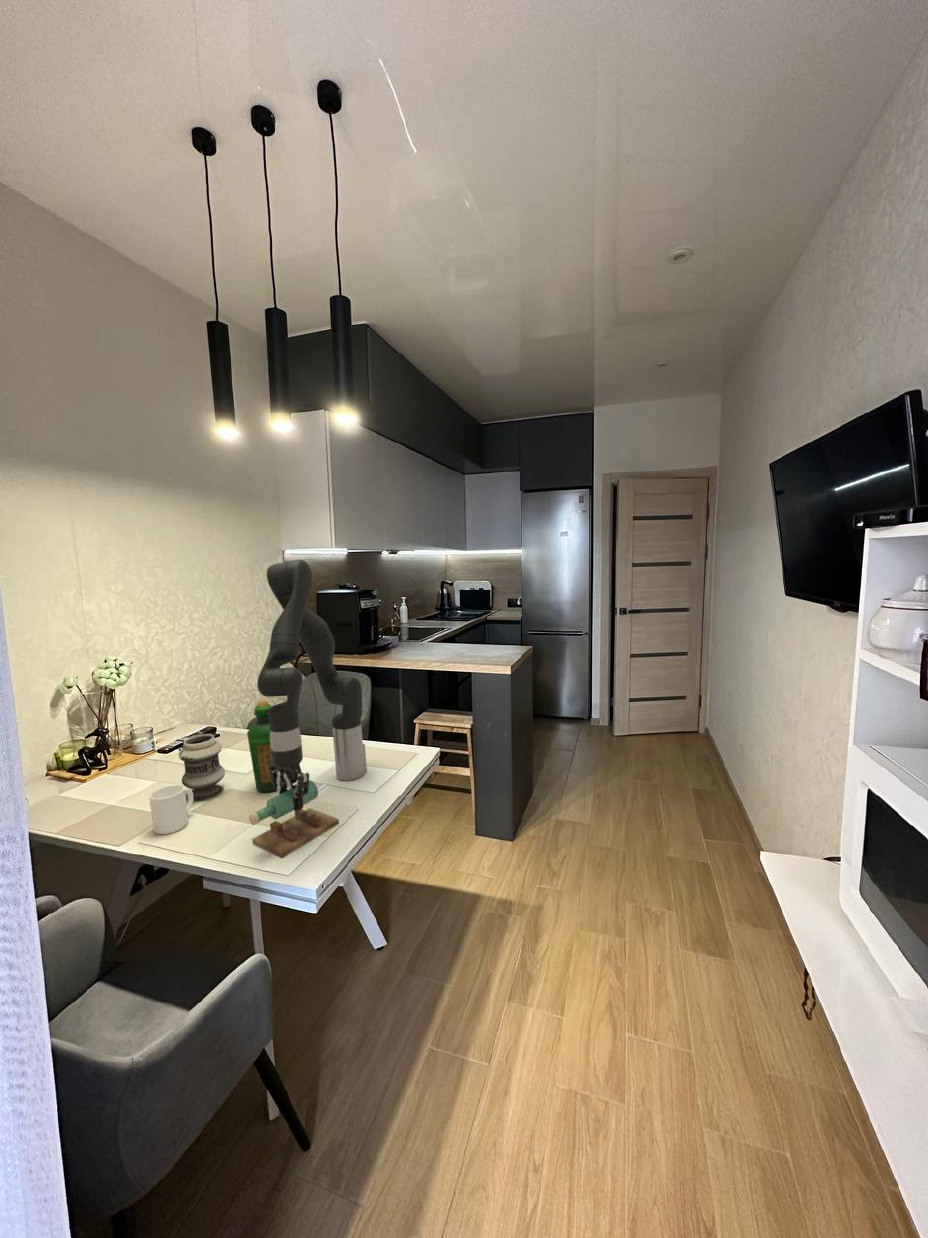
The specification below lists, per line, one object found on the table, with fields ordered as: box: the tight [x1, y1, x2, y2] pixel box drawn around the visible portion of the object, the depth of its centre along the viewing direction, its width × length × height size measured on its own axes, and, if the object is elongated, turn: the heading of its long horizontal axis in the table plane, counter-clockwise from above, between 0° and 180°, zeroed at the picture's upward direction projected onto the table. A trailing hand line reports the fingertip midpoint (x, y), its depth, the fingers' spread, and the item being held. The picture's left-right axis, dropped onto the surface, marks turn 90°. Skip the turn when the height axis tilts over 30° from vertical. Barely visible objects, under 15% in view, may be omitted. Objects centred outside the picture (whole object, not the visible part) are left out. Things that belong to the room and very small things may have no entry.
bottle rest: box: [251, 807, 340, 859], centre depth 131 cm, size 18×12×4 cm, turn 146°
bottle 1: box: [246, 700, 277, 793], centre depth 157 cm, size 11×11×28 cm
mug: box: [148, 784, 194, 835], centre depth 138 cm, size 12×8×10 cm
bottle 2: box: [248, 779, 319, 826], centre depth 127 cm, size 18×5×5 cm, turn 146°
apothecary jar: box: [178, 733, 226, 802], centre depth 155 cm, size 12×12×18 cm
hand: (291, 806), depth 129 cm, fingers closed on bottle 2, 5 cm apart
